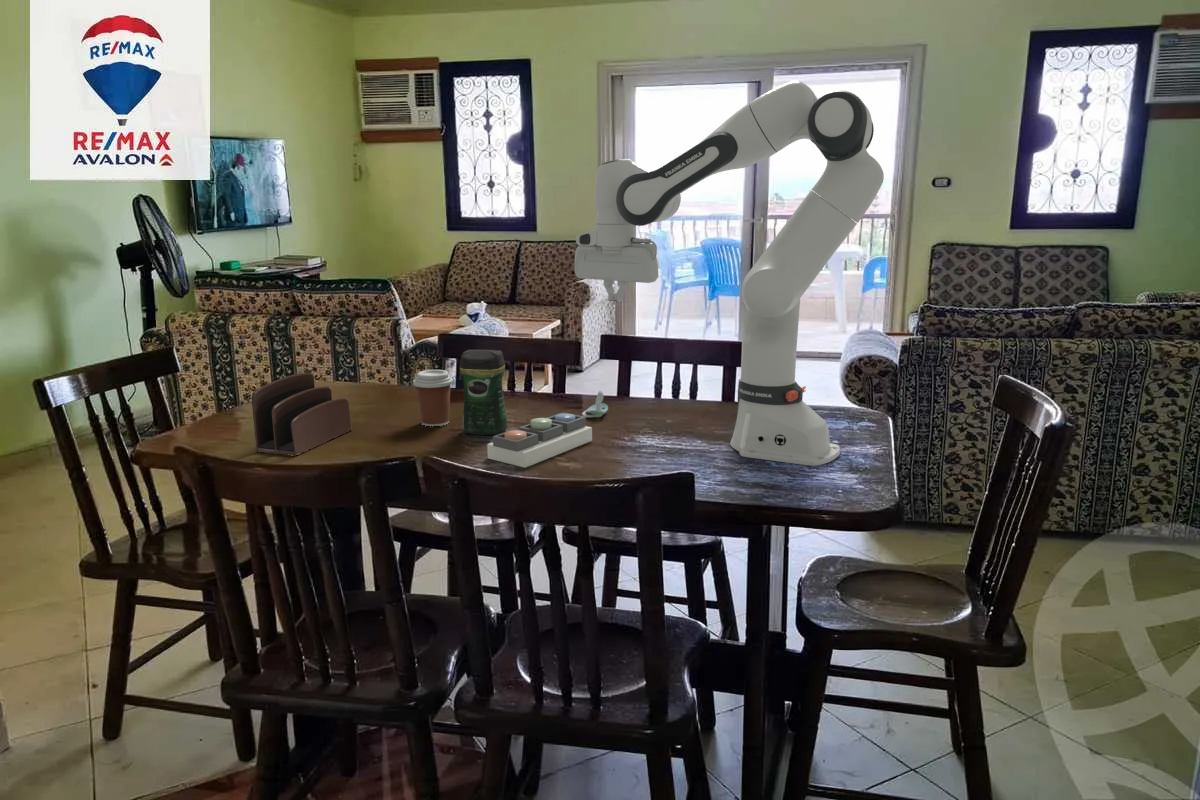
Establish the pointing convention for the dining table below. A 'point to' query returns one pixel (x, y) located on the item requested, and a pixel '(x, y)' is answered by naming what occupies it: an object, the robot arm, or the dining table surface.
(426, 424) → the coffee cup
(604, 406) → the pacifier
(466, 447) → the dining table surface
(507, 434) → the terracotta button
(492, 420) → the coffee jar
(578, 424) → the button panel
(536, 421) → the sage button
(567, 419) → the blue button
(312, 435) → the letter holder
